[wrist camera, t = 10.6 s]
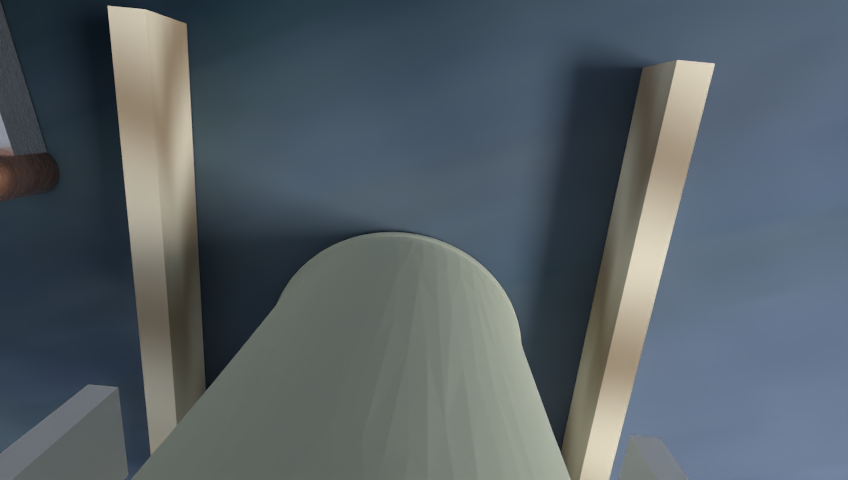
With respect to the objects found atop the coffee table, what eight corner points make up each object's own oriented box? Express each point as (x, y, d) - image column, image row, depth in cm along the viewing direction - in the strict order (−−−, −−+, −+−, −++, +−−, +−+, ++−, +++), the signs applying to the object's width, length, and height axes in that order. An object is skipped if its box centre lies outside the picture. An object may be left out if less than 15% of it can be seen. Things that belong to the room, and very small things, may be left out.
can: (333, 479, 18) (159, 1109, 7) (228, 282, 16) (-312, 726, 4) (551, 413, 17) (789, 1034, 6) (471, 191, 15) (594, 469, 3)
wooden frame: (153, 20, 14) (-93, -60, 7) (675, 70, 14) (884, 34, 7) (190, 544, 19) (71, 754, 13) (557, 577, 19) (617, 804, 13)
